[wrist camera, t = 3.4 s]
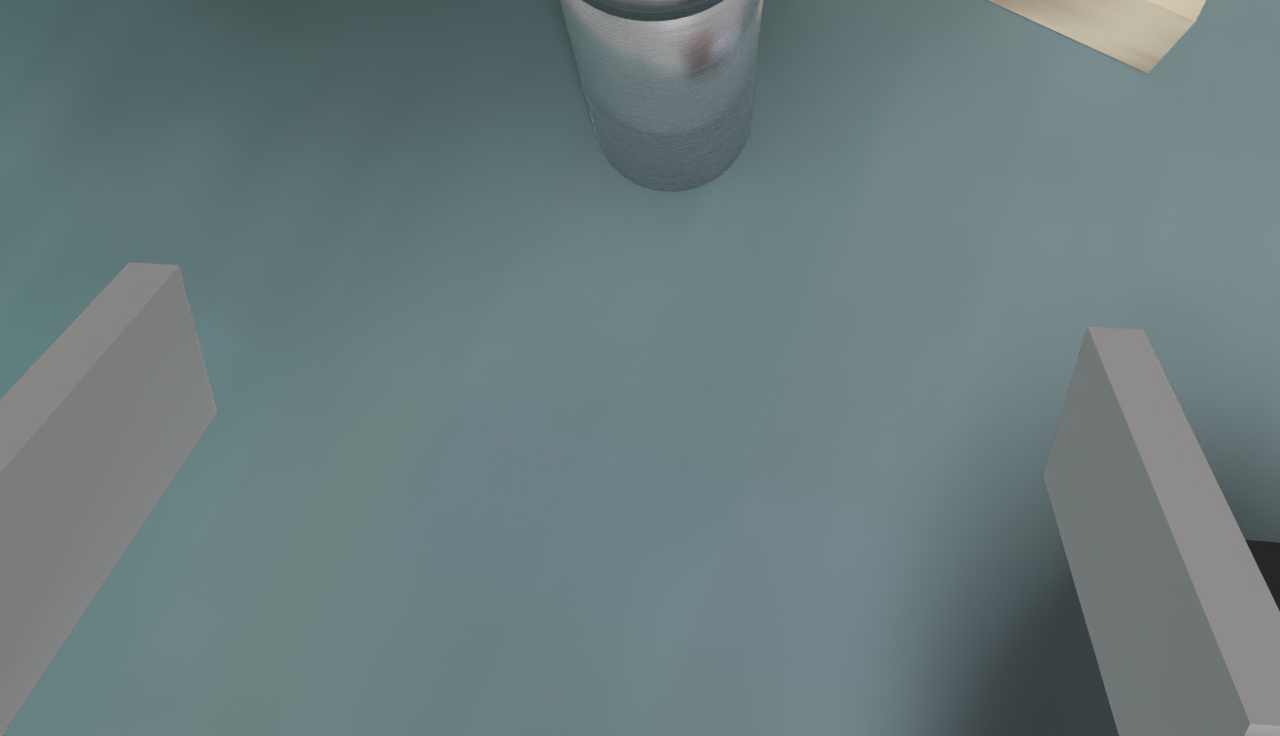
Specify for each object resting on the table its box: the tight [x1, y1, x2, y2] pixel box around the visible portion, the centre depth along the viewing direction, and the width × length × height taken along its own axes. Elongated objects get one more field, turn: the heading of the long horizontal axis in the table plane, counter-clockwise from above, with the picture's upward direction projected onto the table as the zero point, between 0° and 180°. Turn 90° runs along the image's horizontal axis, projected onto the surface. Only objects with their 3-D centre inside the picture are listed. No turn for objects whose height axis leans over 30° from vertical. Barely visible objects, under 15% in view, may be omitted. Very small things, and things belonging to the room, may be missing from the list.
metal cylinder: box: [560, 0, 763, 192], centre depth 26 cm, size 5×5×11 cm
